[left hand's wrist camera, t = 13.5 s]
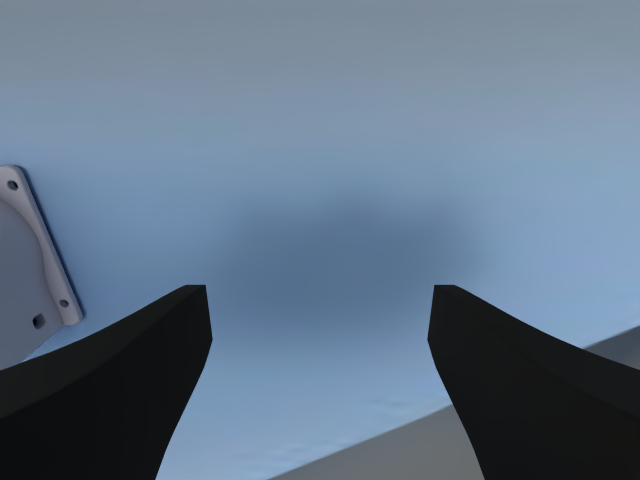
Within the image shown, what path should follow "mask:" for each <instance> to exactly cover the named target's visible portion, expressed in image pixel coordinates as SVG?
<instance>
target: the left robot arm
mask: <svg viewBox="0 0 640 480" xmlns="http://www.w3.org/2000/svg"><path fill="white" fill-rule="evenodd" d="M14 182H16V183H17V185H18V188H16V187H15V185H14ZM64 300H66V301H67V302H68V303H69V304H68V303H66V302H65V301H64ZM82 318H83V315H82V312H81V310H80V307H79V305H78V302H77V300H76V298H75V295H74V293H73V291H72V288H71V286H70V283H69V281H68V279H67V276H66V274H65V272H64V269H63V267H62V264H61V262H60V260H59V257H58V255H57V253H56V250H55V248H54V245H53V243H52V241H51V238H50V236H49V233H48V231H47V229H46V226H45V224H44V222H43V219H42V217H41V214H40V212H39V210H38V207H37V205H36V203H35V200H34V198H33V195H32V193H31V191H30V188H29V186H28V183H27V181H26V179H25V176H24V174H23V172H22V171H21V169H19V168H18V167H16V166H14V165H7V166H0V480H155V479H156V476H157V473H158V471H159V468H160V465H161V462H162V459H163V457H164V454H165V451H166V449H167V446H168V444H169V442H170V439H171V437H172V435H173V432H174V430H175V428H176V426H177V424H178V422H179V420H180V418H181V416H182V414H183V411H184V409H185V407H186V405H187V403H188V401H189V399H190V397H191V395H192V393H193V390H194V388H195V386H196V384H197V382H198V380H199V378H200V375H201V373H202V371H203V369H204V366H205V363H206V360H207V357H208V354H209V350H210V347H211V343H212V340H213V339H212V331H211V323H210V315H209V308H208V300H207V292H206V285H185V286H182V287H180V288H178V289H176V290H174V291H172V292H170V293H169V294H167V295H165V296H163V297H161V298H160V299H158V300H156V301H154V302H153V303H151V304H149V305H147V306H145V307H144V308H142V309H140V310H138V311H137V312H135V313H133V314H131V315H129V316H127V317H125V318H123V319H121V320H120V321H118V322H116V323H114V324H112V325H110V326H108V327H106V328H104V329H102V330H100V331H98V332H96V333H94V334H92V335H90V336H87V337H85V338H83V339H81V340H79V341H76V342H74V343H72V344H69V345H67V346H64V347H62V348H60V349H57V350H55V351H52V352H50V353H47V354H44V355H41V356H39V357H36V358H33V359H30V360H28V361H25V362H22V361H23V360H24V359H25V358H26V357H28V356H29V355H30V354H31V353H32V352H34V351H35V350H36V349H37V348H38V347H39V346H41V345H42V344H43V343H44V342H45V341H47V340H48V339H49V338H50V337H51V336H53V335H54V334H55V333H56V332H57V331H59V330H60V329H61V328H62V327H63V326H67V325H75V324H77V323H79V322H80V321H81V320H82ZM427 340H428V343H429V347H430V350H431V354H432V357H433V360H434V363H435V366H436V369H437V371H438V373H439V375H440V378H441V380H442V382H443V384H444V386H445V388H446V390H447V393H448V395H449V397H450V399H451V401H452V403H453V405H454V407H455V409H456V411H457V414H458V416H459V418H460V420H461V422H462V424H463V426H464V428H465V430H466V432H467V434H468V437H469V439H470V442H471V444H472V446H473V449H474V451H475V454H476V457H477V459H478V462H479V465H480V468H481V471H482V473H483V476H484V479H485V480H640V370H638V369H635V368H632V367H629V366H626V365H624V364H621V363H618V362H615V361H612V360H609V359H606V358H604V357H601V356H598V355H596V354H593V353H591V352H588V351H586V350H583V349H581V348H578V347H576V346H574V345H571V344H569V343H567V342H564V341H562V340H559V339H557V338H555V337H553V336H551V335H548V334H546V333H544V332H542V331H540V330H538V329H536V328H534V327H532V326H530V325H528V324H526V323H524V322H522V321H520V320H518V319H517V318H515V317H513V316H511V315H509V314H507V313H505V312H504V311H502V310H500V309H498V308H496V307H495V306H493V305H491V304H489V303H488V302H486V301H484V300H482V299H481V298H479V297H477V296H475V295H473V294H472V293H470V292H468V291H466V290H464V289H462V288H460V287H458V286H455V285H434V292H433V300H432V308H431V315H430V323H429V331H428V339H427ZM20 362H22V363H20Z"/></svg>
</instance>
